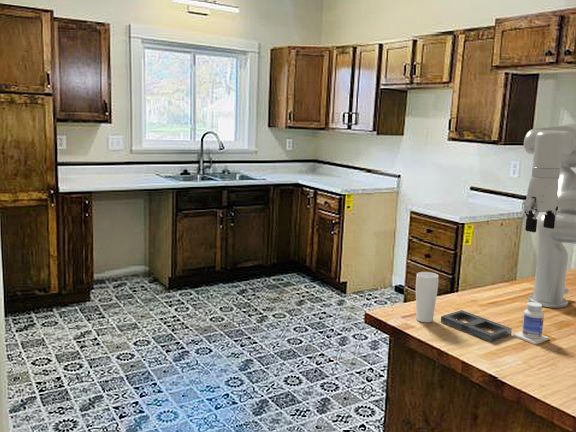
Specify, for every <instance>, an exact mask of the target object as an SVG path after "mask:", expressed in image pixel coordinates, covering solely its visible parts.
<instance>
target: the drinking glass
mask: <svg viewBox="0 0 576 432" xmlns="http://www.w3.org/2000/svg"><path fill="white" fill-rule="evenodd" d="M438 288H439V274H437V273H435V272H430V271H420V272H419V271H418V272H416V278H415V309H416V310H415V311H416V315H415V318H416V320H417V321H418V322H420V323H431V322H433V321H434V316H435V314H434V313H435V310H436V309H435V307H436V303H437V296H438V290H439V289H438Z"/></svg>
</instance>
